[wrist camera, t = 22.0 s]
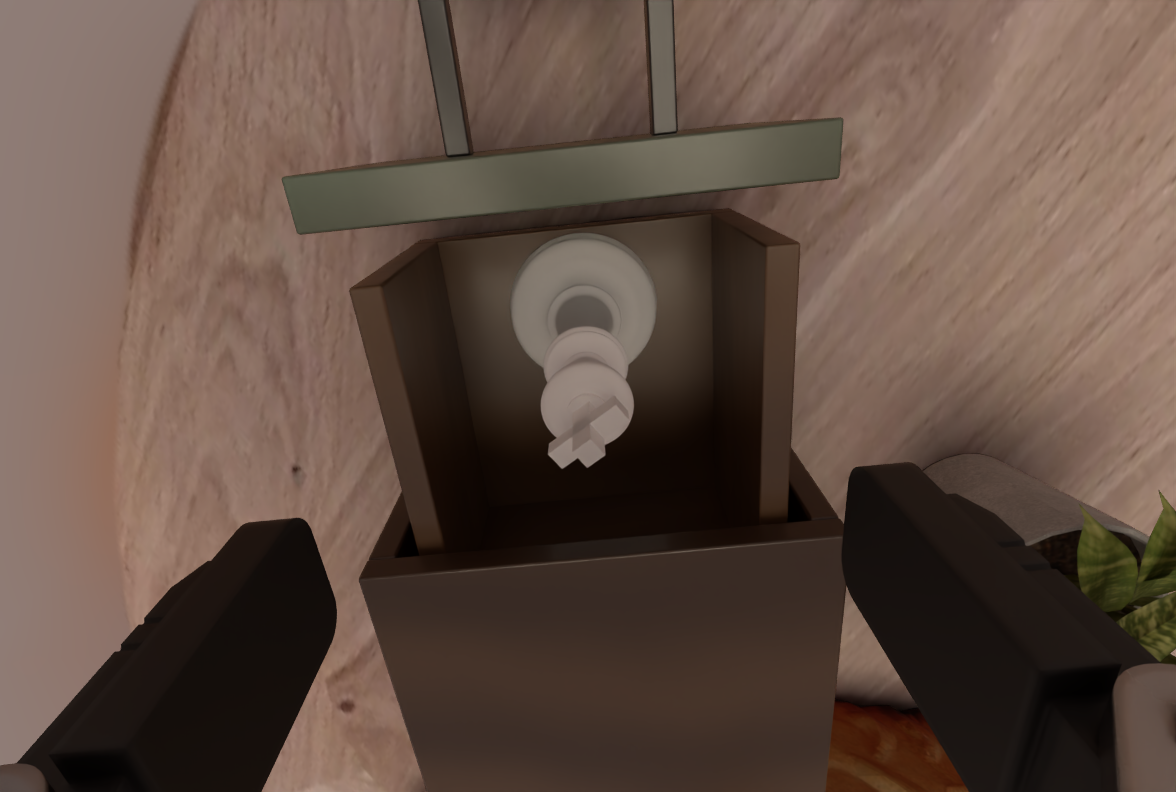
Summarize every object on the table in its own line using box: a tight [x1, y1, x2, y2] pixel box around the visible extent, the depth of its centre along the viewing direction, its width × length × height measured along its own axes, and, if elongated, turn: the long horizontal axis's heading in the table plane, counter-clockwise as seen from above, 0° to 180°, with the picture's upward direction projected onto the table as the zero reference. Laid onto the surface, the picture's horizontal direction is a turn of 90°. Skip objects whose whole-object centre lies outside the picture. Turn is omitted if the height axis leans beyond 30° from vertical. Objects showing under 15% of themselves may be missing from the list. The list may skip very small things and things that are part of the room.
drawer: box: [282, 0, 843, 556], centre depth 17 cm, size 19×12×7 cm, turn 6°
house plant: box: [923, 454, 1176, 665], centre depth 19 cm, size 14×14×16 cm
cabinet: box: [359, 448, 846, 792], centre depth 23 cm, size 15×13×9 cm
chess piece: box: [510, 233, 657, 469], centre depth 15 cm, size 5×5×10 cm
